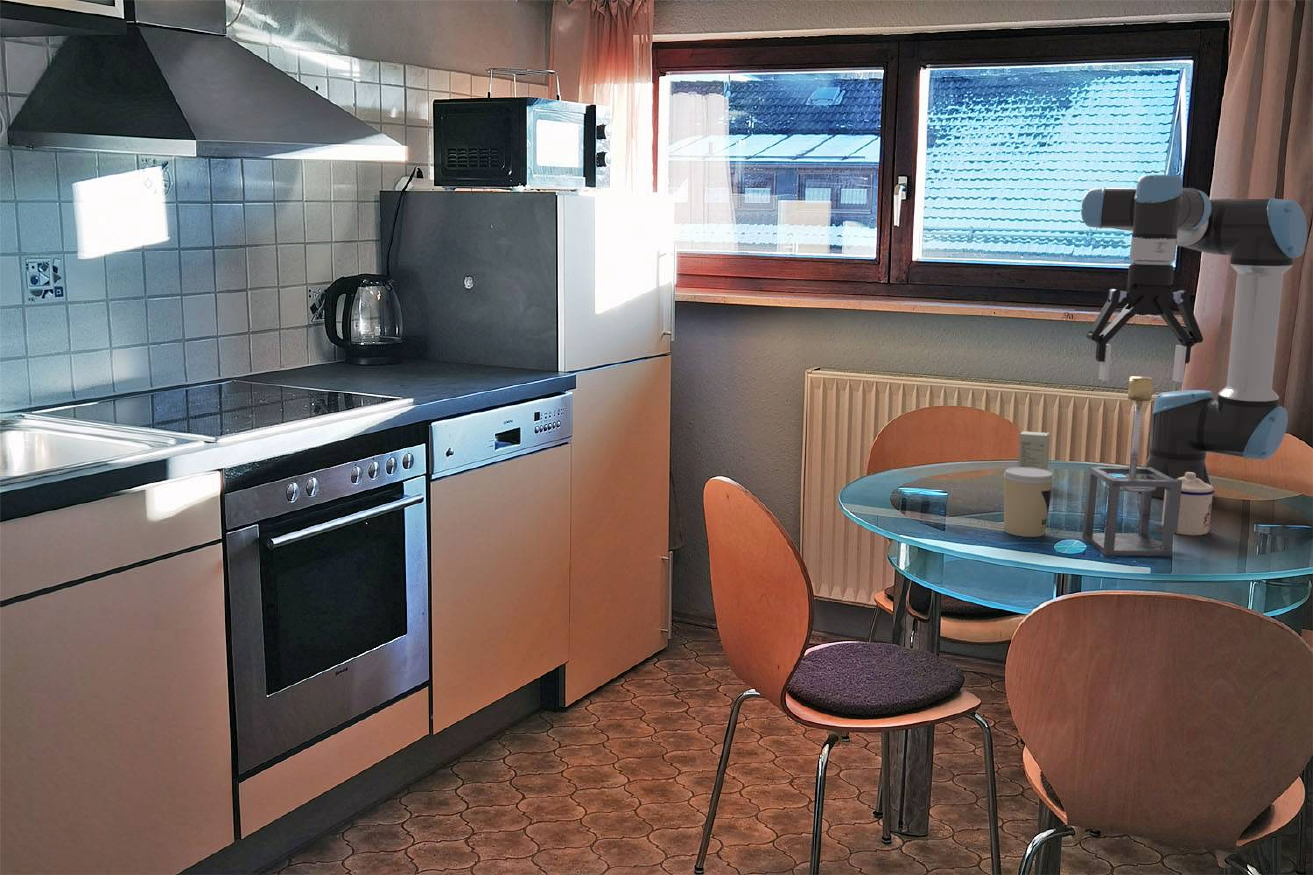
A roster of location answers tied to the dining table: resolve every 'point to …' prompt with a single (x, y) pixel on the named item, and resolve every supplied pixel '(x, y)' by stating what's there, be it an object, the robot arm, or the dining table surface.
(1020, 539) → the dining table surface
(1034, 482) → the cream lidded tub
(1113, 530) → the press frame
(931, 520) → the dining table surface
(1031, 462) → the skincare box
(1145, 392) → the plunger
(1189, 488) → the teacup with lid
